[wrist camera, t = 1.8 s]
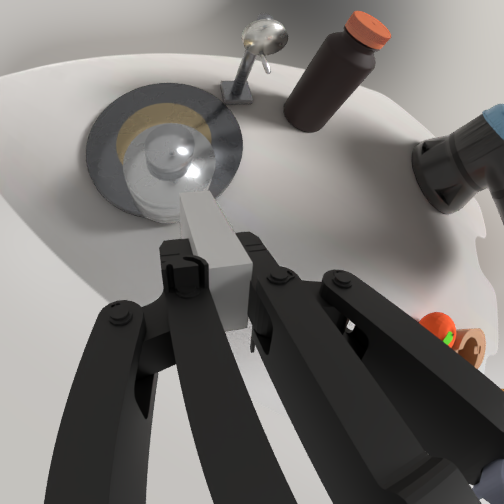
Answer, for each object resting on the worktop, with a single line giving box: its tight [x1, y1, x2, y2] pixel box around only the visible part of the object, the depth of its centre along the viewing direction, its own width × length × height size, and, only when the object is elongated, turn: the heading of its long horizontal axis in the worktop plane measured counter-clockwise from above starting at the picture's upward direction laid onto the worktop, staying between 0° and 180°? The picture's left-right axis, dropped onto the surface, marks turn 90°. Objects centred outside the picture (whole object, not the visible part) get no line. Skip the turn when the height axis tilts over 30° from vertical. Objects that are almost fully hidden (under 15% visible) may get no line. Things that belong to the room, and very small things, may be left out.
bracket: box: [452, 329, 486, 369], centre depth 37 cm, size 18×8×7 cm, turn 84°
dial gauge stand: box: [220, 13, 288, 104], centre depth 30 cm, size 5×8×16 cm, turn 13°
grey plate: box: [86, 83, 243, 218], centre depth 33 cm, size 20×20×1 cm
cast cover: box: [123, 123, 216, 223], centre depth 27 cm, size 9×9×9 cm
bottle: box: [284, 11, 391, 132], centre depth 31 cm, size 7×7×20 cm
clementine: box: [419, 312, 456, 348], centre depth 35 cm, size 8×7×7 cm
